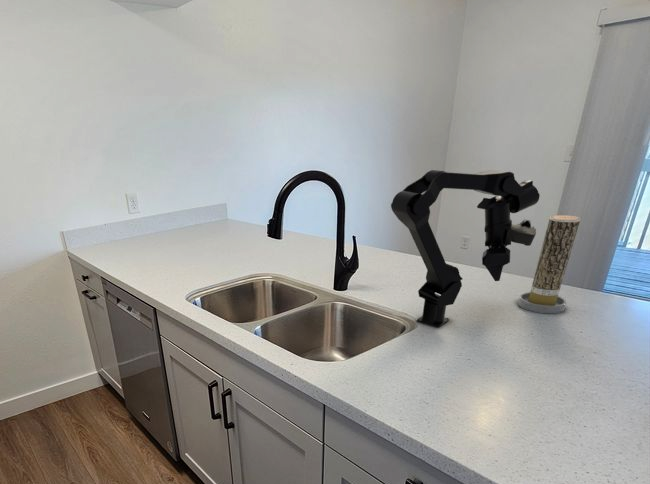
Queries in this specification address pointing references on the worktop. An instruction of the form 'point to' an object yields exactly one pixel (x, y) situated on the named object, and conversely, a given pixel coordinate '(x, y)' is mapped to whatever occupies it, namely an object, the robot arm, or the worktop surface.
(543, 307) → the stand
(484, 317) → the worktop surface
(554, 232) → the paper tube
